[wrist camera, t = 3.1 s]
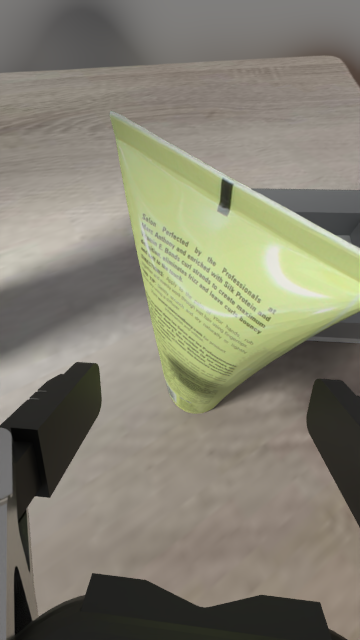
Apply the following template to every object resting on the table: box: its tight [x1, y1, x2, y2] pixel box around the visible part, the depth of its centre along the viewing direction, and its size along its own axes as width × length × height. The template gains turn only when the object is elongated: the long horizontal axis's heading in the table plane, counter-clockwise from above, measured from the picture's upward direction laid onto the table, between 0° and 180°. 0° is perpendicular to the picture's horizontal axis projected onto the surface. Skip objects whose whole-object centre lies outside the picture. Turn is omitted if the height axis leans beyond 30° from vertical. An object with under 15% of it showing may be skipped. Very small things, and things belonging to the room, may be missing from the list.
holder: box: [252, 189, 360, 343], centre depth 26 cm, size 16×16×4 cm
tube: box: [110, 111, 360, 414], centre depth 14 cm, size 6×5×20 cm
